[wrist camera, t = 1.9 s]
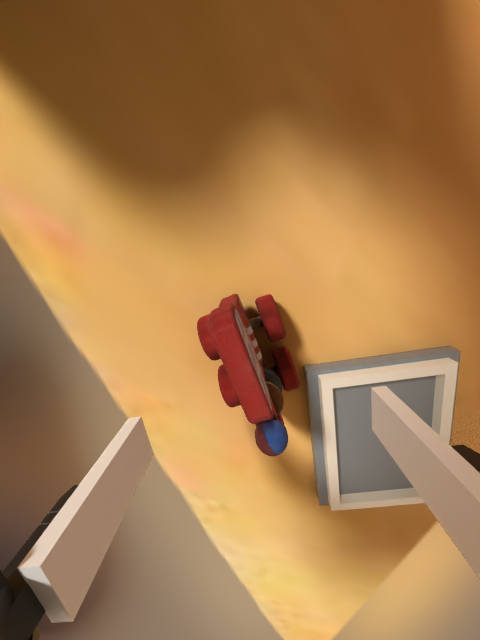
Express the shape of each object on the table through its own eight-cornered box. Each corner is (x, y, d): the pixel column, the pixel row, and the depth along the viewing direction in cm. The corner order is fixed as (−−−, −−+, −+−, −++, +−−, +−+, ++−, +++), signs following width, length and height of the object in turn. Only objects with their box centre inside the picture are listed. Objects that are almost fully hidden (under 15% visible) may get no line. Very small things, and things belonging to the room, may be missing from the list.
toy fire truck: (238, 404, 24) (232, 508, 14) (195, 298, 21) (150, 338, 11) (300, 387, 24) (339, 485, 14) (265, 274, 20) (283, 294, 10)
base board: (303, 365, 23) (309, 377, 21) (449, 345, 22) (470, 355, 20) (317, 495, 28) (322, 514, 26) (435, 484, 27) (452, 503, 25)
